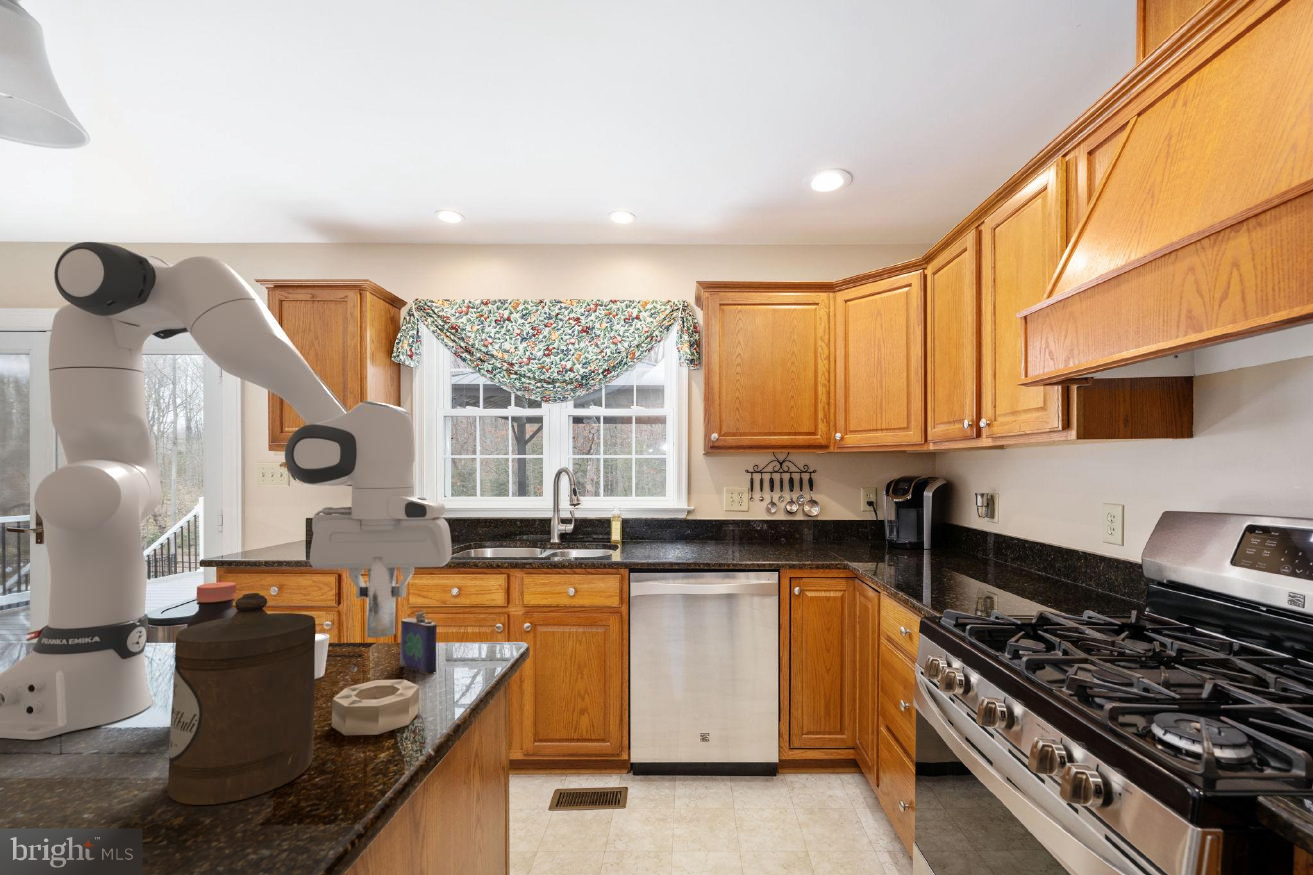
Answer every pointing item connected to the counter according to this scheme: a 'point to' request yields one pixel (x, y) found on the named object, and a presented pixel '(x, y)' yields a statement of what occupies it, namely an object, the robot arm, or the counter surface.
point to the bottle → (214, 602)
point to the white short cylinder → (320, 653)
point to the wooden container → (242, 704)
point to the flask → (418, 644)
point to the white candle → (380, 600)
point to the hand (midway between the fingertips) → (381, 597)
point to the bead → (375, 707)
